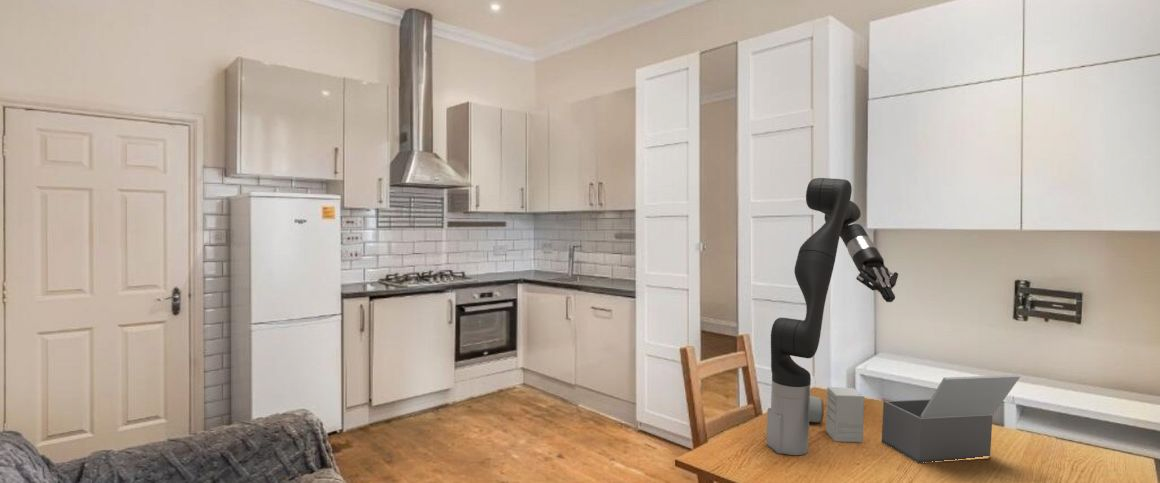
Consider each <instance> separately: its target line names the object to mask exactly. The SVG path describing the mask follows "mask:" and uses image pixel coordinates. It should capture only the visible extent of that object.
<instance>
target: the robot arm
mask: <svg viewBox="0 0 1160 483" xmlns="http://www.w3.org/2000/svg"><path fill="white" fill-rule="evenodd" d="M852 190H853V188H852V184H851V181H849V180H847V179H844V178H843V179H842V178H831V177H830V178H829V177H828V178H827V177H816V178H812V179H811V180H810V181H809V183H808V185H807V187H806V190H805V191H806V192H805V203H806V205H807V207H808V208H809V209H811V210H812V211H816V212H821V213H823V214H824V216H823V217H824V224H823V225H821V227H820V228H819V229H817V231H815V232H814V233H813V234H811V236H809V237H808V238H807V239H806V240H805V241H804V242H803V243H802V244H801V246H800V247H799V249H798V254H797V258H796V261H795V266H794V271H793V272H794V277H795V279H796V282H797V284H798V287H799V289H800V291H801V293H802V296H803V298H804V302H805V307H806V309H805V310H806V312H805V318H804V320H803V319H797V318H789V317H788V318H787V317H778V318H776V319H775V320H774V321H773V324H772V327H771V331H770V370H771V394H770V395H771V396H770V397H771V398H770V407H769V408H767V411H766V412H767V413H766V414H767V415H766V440H765V441H766V442H765V444H766V445H767V446H768V447H770V449H772V450H773V451H774V452H775V453H777V454H783V455H790V456H801V455H802V456H803V455H806V454H807V453H808V451H809V433H810V432H809V430H810V428H809V427H810V422H809V409H810V396H811V384H812V383H811V382H812V380H811V379H812V378H811V377H812V376H811V373H810V372H809V371H808V370H807V369H806V368H804V367H802V366H801V365H799V364H797V362H795V361H794V360H793V359H792V357H796V358H802V359H803V358H804V359H812V358H813V357H814V356H815V355H816V354H817V351H818V348H819V346H820V345H819V344H820V340H821V333H822V332H821V331H822V325H823V318H824V311H825V305H826V301H827V300H826V299H827V295H828V291H829V287H830V284H831V281H832V280H831V279H832V275H833V272H834V266H835V262H836V257H837V252H838V246H839V242H840V241H839V240H840V238H841V240H842V242H843V243H844V245H845V247H846V250H847V251H848V255H849V257H850V258H851V260H852V262H853V263H854V265H855V268H856V269H857V271H858V272H859V273H858V274H857V276H856V278H855V279H856V280H857V281H858V282H860V284H861V283H862V284H863V286H866V287H867V288H868V289H870V290H871V291H877V292H878V293H879V294H880V295H881V297H882V299H883V300H884V301H885V302H886V303H893V301H894V300H896V295H895V293H894V291H893V288H894V287H895V286H896V284H897V281H898V278H899V273H898V272H897V271H896V272H895V271H894V272H891V271H889V269H888V267H886V265H885V262H884V258H883V257H882V255H881V253H880V251H879V249H878V248H877V246H876V245H875V243H874V242H873V241H872V239H871V238H870V236H869V235H868V233H867V232H866V230H865V228H864V226H862V224H858V223H855V222H857V221H858V220H859V219H860V218H861V209H860V208H859V206H858V204H856V203H855V202H854V201H852V200H851V197H852Z"/></svg>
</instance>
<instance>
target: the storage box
mask: <svg viewBox="0 0 1160 483" xmlns="http://www.w3.org/2000/svg"><path fill="white" fill-rule="evenodd" d="M930 399H931V398H929V399H928V398H927V399H925V398H923V399H903V400H902V399H901V400H884V401H883V406H882V408H883V409H882V428H881V443H882V442H883V443H882V444H884V443H885V444H884V445H886V444H887V445H886V446H888V447H889V446H890V448H891V447H892V448H891V449H893V450H894V449H895V450H894V451H896V450H897V451H896V452H898V451H899V452H898V453H900V454H901V453H902V455H903V454H904V455H903V456H905V457H907V458H908V457H909V458H908V459H910V458H911V459H910V460H912V461H913V460H914V462H915V461H916V462H915V463H917V462H918V463H917V464H919V463H921V464H926V463H925V462H932V461H933V462H935V461H944V460H955V459H957V460H958V459H966V458H975V457H983V456H990V457H991V449H992V448H991V447H992V429H993V414H991V415H971V416H951V417H931V418H922V417H921V414H922V412H923V411H924V409H925V408H926V406H927V404H928V403H929V401H930ZM923 462H924V463H923Z"/></svg>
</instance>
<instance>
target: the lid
mask: <svg viewBox="0 0 1160 483" xmlns="http://www.w3.org/2000/svg"><path fill="white" fill-rule="evenodd" d="M1020 378H1021V376H1020V375H1019V374H1007V375H1006V374H1005V375H1003V374H1002V375H983V376H982V375H978V376H976V375H975V376H951V377H950V376H949V377H948V376H947V377H943V378H942V380H941V381H940V383H939V385H938V386H937V388H936V390H935V392H934V393H933V395H932V396H931V398H929V399H930V401H929V403H928V404H927V406H926V408H925V409H924V411H923V412H922V414H921V417H922V418H931V417H951V416H971V415H995V413H996V411H997V410H998V409H999V408H1000V406H1001V405H1002V403H1003V402H1004V400H1005V399H1007V398H1006V397H1007V396H1008V395H1009V394H1010V392H1011V390H1012V389H1013V388H1014V387H1015V385H1016V383H1017V382H1018V381H1019V379H1020Z"/></svg>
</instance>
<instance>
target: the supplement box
mask: <svg viewBox="0 0 1160 483" xmlns="http://www.w3.org/2000/svg"><path fill="white" fill-rule="evenodd" d="M825 414H826V416H825V417H826V418H825V419H826V420H825V431H826V433H827V434H828V435H829V436H830V438H831V439H832V440H833V441H835V442H842V443H845V442H846V443H848V442H849V443H863V442H864V441H863V440H864V416H865V395H863V394H862V393H861V392H860V391H858V390H857V389H855V387H839V386H838V387H835V386H827V389H826V413H825Z"/></svg>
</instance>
